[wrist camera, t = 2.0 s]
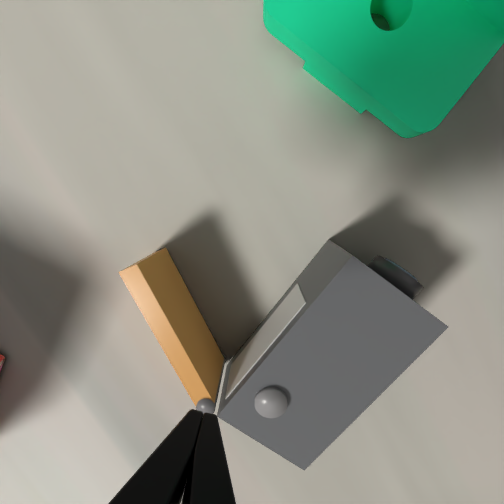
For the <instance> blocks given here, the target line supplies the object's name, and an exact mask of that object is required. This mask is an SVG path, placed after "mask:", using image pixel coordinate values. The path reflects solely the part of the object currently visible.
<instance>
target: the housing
mask: <svg viewBox="0 0 504 504" xmlns="http://www.w3.org/2000/svg"><path fill="white" fill-rule="evenodd" d="M417 281H418V280H417V279H416V278H415V277H414V276H413V275H411V274H410V273H409V272H407V271H406V270H404V269H403V268H401V267H400V266H399V265H397V264H395V263H394V262H392V261H391V260H389V259H387V258H385V259H384V258H382V257H381V256H378V255H377V256H376V257H375V258H374V260H373V261H372V262H371V263H370V264H369V265H368V266H366V265H365V264H364V263H362V262H361V261H360V260H358V259H357V258H356V257H354V256H353V255H352V254H350V253H349V252H347V251H346V250H344V249H343V248H341V247H340V246H338V245H337V244H335V243H334V242H332V241H331V240H328V241H327V242H326V243H325V244H324V246H323V247H322V248H321V249H320V251H319V252H318V253H317V254H316V256H315V257H314V258H313V259H312V261H311V262H310V263H309V264H308V266H307V267H306V268H305V269H304V270H303V272H302V273H301V274H300V275H299V277H298V278H297V279H296V280H295V282H294V283H293V284H292V285H291V287H290V288H289V289H288V290H287V292H286V293H285V294H284V295H283V297H282V298H281V299H280V300H279V301H278V303H277V304H276V305H275V306H274V308H273V309H272V310H271V311H270V313H269V314H268V315H267V316H266V318H265V319H264V320H263V321H262V323H261V324H260V325H259V326H258V328H257V329H256V330H255V331H254V332H253V334H252V335H251V336H250V337H249V339H248V340H247V341H246V342H245V344H244V345H243V346H242V347H241V349H240V350H239V351H238V352H237V354H236V355H235V356H234V357H233V358H232V360H231V361H230V362H229V363H228V365H227V368H226V373H225V378H224V383H223V388H222V394H221V399H220V404H219V409H218V414H217V417H219V418H221V419H222V420H224V421H225V422H227V423H229V424H230V425H232V426H233V427H235V428H237V429H238V430H240V431H241V432H243V433H245V434H246V435H248V436H250V437H251V438H253V439H254V440H256V441H258V442H259V443H261V444H262V445H264V446H266V447H267V448H269V449H271V450H272V451H274V452H275V453H277V454H279V455H280V456H282V457H283V458H285V459H287V460H288V461H290V462H292V463H293V464H295V465H296V466H298V467H300V468H301V469H303V470H305V469H306V468H307V467H308V466H309V465H310V464H311V463H312V462H313V461H314V460H315V459H316V458H317V457H318V456H319V455H320V454H321V453H322V452H323V451H324V450H325V449H326V448H327V447H328V446H329V445H330V444H331V443H332V442H333V441H334V440H335V439H336V438H337V437H338V436H339V435H340V434H341V433H342V432H343V431H344V430H345V429H346V428H347V427H348V426H349V425H350V424H351V423H353V422H354V421H355V420H356V419H357V418H358V417H359V416H360V415H361V414H362V413H363V412H364V411H365V410H366V409H367V408H368V407H369V406H370V405H371V404H372V403H373V402H374V401H375V400H376V399H377V398H378V397H379V396H380V395H381V394H382V393H383V392H384V391H385V390H386V389H387V388H388V387H389V386H390V385H391V384H392V383H393V382H394V381H395V380H396V379H397V378H398V377H399V376H400V375H401V374H402V373H403V372H404V371H405V370H406V369H407V368H408V367H409V366H410V365H411V364H412V363H413V362H414V361H415V360H416V359H417V358H418V357H419V356H420V355H421V354H422V353H423V352H424V351H425V350H426V349H427V348H428V347H429V346H430V345H431V344H432V343H433V342H434V341H435V340H436V339H437V338H438V337H439V336H440V335H441V334H442V333H443V332H444V331H445V330H446V329H447V328H448V326H447V325H445V324H444V323H443V322H441V321H440V320H439V319H437V318H436V317H435V316H433V315H432V314H431V313H429V312H428V311H427V310H425V309H424V308H423V307H421V306H420V305H419V304H417V303H416V302H415V301H413V299H414V298H415V297H416V296H417V295H418V294H419V292H420V291H421V290H422V289H423V288H424V287H423V286H422V285H421V284H420V283H419V282H417Z"/></svg>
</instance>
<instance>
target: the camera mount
mask: <svg viewBox="0 0 504 504" xmlns="http://www.w3.org/2000/svg"><path fill="white" fill-rule="evenodd" d="M371 14H379V15H381V16H383V17H384V18H385V19H386V20H387V22H388V24H389V27H390V31H385V30H382V29H380V28H378V27H377V26H376V25H375V24H374V22H373V20H372V18H371ZM263 20H264V24H265V27H266V29H267V30H268V32H269V33H270V34H272V35H273V36H274V37H275V38H277V39H278V40H279V41H281V42H282V43H283V44H284V45H286V46H287V47H288V48H289V49H291V50H292V51H293V52H294V53H296V54H297V55H298V56H299V57H301V58H302V59H303V60H304V61H305V64H304V67H303V69H304V70H306V71H307V72H308V73H309V74H311V75H312V76H313V77H315V78H316V79H317V80H318V81H320V82H321V83H322V84H323V85H325V86H326V87H327V88H329V89H330V90H331V91H332V92H334V93H335V94H336V95H337V96H339V97H340V98H341V99H342V100H344V101H345V102H346V103H348V104H349V105H350V106H351V107H353V108H354V109H355V110H356V111H358V112H359V113H360V114H361V113H362V112H364V111H365V110H368V111H369V112H370V113H371V114H373V115H374V116H375V117H376V118H378V119H379V120H380V121H382V122H383V123H384V124H385V125H387V126H388V127H389V128H390V129H392V130H393V131H394V132H395V133H397V134H398V135H399V136H401V137H404V138H412V137H415V136H418V135H421V134H423V133H426V132H429V131H431V130H433V129H435V128H436V127H437V126H438V125H439V124H440V123H441V122H442V120H443V119H444V118H445V117H446V115H447V114H448V113H449V112H450V110H451V109H452V108H453V107H454V105H455V104H456V103H457V102H458V100H459V99H460V98H461V97H462V95H463V94H464V93H465V92H466V90H467V89H468V88H469V86H470V85H471V84H472V83H473V81H474V80H475V79H476V78H477V76H478V75H479V74H480V73H481V71H482V70H483V69H484V68H485V66H486V65H487V64H488V63H489V61H490V60H491V59H492V58H493V56H494V55H495V54H496V53H497V51H498V50H499V49H500V47H501V46H502V45H503V44H504V0H264V4H263Z"/></svg>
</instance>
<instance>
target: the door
mask: <svg viewBox="0 0 504 504" xmlns="http://www.w3.org/2000/svg"><path fill="white" fill-rule="evenodd" d="M119 274H120V276H121V278H122V279H123V281H124V283H125V285H126V286H127V288H128V290H129V292H130V293H131V295H132V297H133V298H134V300H135V302H136V304H137V305H138V307H139V309H140V311H141V312H142V314H143V316H144V318H145V319H146V321H147V323H148V324H149V326H150V328H151V330H152V331H153V333H154V335H155V337H156V338H157V340H158V342H159V344H160V345H161V347H162V349H163V350H164V352H165V354H166V356H167V357H168V359H169V361H170V363H171V364H172V366H173V368H174V370H175V371H176V373H177V375H178V376H179V378H180V380H181V382H182V383H183V385H184V387H185V389H186V390H187V392H188V394H189V396H190V397H191V399H192V401H193V402H194V404H195V406H196V410H198V411H202V412H203V414H204V413H205V412H207V413H211V414H213V413H214V411H215V407H216V402H217V397H218V392H219V388H220V383H221V378H222V374H223V369H224V364H225V357H224V356H223V355H222V353H221V351H220V349H219V348H218V346H217V344H216V342H215V340H214V338H213V336H212V334H211V332H210V330H209V329H208V327H207V325H206V323H205V321H204V319H203V317H202V315H201V313H200V311H199V310H198V308H197V306H196V304H195V302H194V300H193V298H192V296H191V294H190V293H189V291H188V289H187V287H186V285H185V283H184V281H183V279H182V277H181V275H180V274H179V272H178V270H177V268H176V266H175V264H174V262H173V260H172V258H171V256H170V255H169V253H168V251H167V249H166V248H164V249H162V250H159V251H157V252H155V253H153V254H151V255H149V256H147V257H145V258H143V259H142V260H140V261H138V262H136V263H134V264H133V265H131V266H129V267H127V268H125V269H124V270H122V271H120V272H119Z"/></svg>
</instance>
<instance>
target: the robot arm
mask: <svg viewBox="0 0 504 504" xmlns="http://www.w3.org/2000/svg"><path fill="white" fill-rule="evenodd" d="M202 417H203V418H202ZM184 489H185V490H184ZM183 493H184V494H183ZM182 496H183V498H182ZM181 500H182V503H181ZM180 503H181V504H236V502H235V497H234V493H233V488H232V483H231V479H230V474H229V469H228V465H227V460H226V455H225V451H224V446H223V441H222V437H221V432H220V427H219V423H218V418H217V416H216V415H215V414H211V413H207V412H205V413H204V414H203V412H202V411H198V410H194V409H191V410H190V411H189V412H188V413H187V414H186V415H185V416H184V417H183V419H182V420H181V421H180V422H179V423H178V424H177V426H176V427H175V428H174V429H173V430H172V431H171V432H170V434H169V435H168V436H167V437H166V438H165V439H164V440H163V442H162V443H161V444H160V445H159V446H158V447H157V448H156V450H155V451H154V452H153V453H152V454H151V455H150V457H149V458H148V459H147V460H146V461H145V462H144V463H143V465H142V466H141V467H140V468H139V469H138V470H137V471H136V473H135V474H134V475H133V476H132V477H131V478H130V479H129V481H128V482H127V483H126V484H125V485H124V486H123V487H122V489H121V490H120V491H119V492H118V493H117V494H116V496H115V497H114V498H113V499H112V500H111V501H110V502H109V504H180Z"/></svg>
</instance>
